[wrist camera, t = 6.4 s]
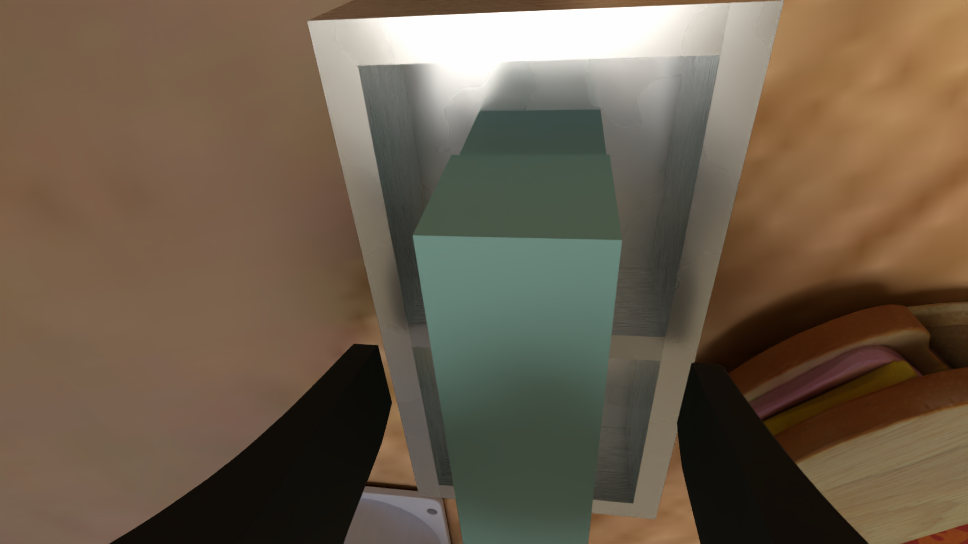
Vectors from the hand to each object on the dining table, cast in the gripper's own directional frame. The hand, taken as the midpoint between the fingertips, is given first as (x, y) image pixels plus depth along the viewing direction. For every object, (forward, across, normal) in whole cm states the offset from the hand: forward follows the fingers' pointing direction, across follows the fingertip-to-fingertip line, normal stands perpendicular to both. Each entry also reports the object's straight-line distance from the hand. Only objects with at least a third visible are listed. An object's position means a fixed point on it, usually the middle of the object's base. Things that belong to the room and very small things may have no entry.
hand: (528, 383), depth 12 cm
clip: (+4, 0, 0) cm, 4 cm away
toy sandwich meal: (+5, -12, +6) cm, 14 cm away
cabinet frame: (+5, 0, 0) cm, 5 cm away
